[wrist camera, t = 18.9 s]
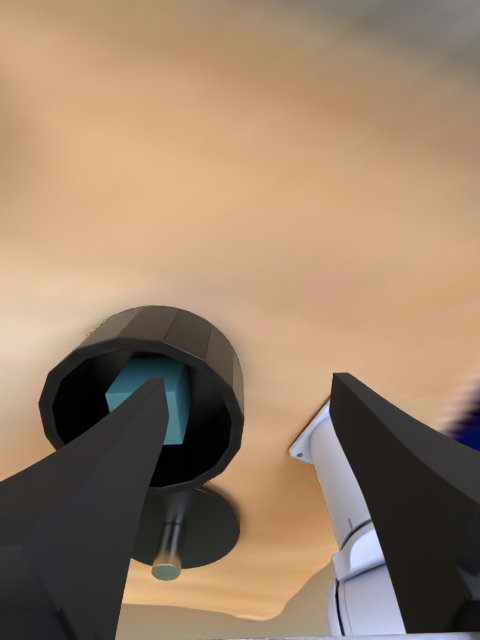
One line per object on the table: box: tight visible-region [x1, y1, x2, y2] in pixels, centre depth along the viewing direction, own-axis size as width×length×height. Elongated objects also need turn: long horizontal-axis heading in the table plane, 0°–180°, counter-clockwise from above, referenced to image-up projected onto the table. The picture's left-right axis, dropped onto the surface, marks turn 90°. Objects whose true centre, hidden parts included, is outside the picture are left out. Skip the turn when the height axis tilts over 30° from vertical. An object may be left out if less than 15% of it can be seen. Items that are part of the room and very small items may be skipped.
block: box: [105, 357, 192, 445], centre depth 20 cm, size 4×4×4 cm
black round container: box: [38, 306, 244, 495], centre depth 20 cm, size 13×13×5 cm
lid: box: [131, 486, 240, 581], centre depth 28 cm, size 14×14×5 cm
